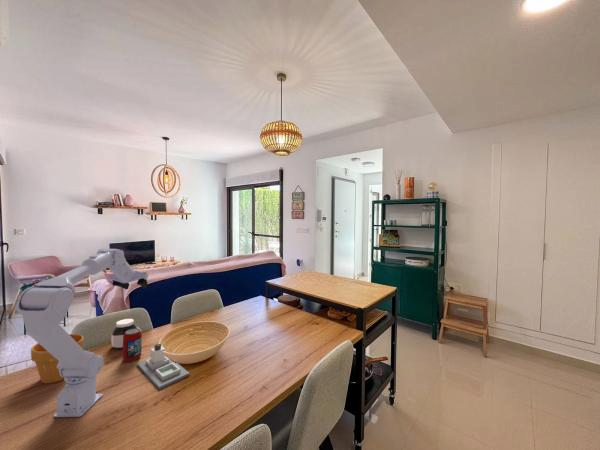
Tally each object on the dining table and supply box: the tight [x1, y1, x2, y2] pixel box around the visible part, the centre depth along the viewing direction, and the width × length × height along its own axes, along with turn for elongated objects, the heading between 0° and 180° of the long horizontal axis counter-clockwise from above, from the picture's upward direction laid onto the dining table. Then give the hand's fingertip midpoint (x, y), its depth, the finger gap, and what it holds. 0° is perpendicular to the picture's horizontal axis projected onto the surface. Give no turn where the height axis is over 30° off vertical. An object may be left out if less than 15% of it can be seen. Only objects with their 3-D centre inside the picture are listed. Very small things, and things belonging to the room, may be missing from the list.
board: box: [136, 356, 190, 390], centre depth 99 cm, size 22×11×2 cm, turn 51°
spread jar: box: [110, 318, 142, 350], centre depth 119 cm, size 12×11×12 cm
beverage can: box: [122, 327, 143, 362], centre depth 107 cm, size 7×7×12 cm
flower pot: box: [30, 333, 84, 384], centre depth 94 cm, size 14×14×13 cm
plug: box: [149, 343, 166, 365], centre depth 103 cm, size 4×4×8 cm
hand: (137, 286), depth 108 cm, fingers open, 7 cm apart
